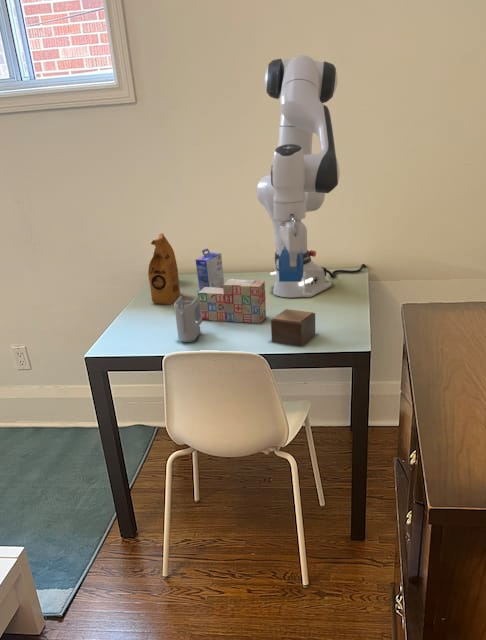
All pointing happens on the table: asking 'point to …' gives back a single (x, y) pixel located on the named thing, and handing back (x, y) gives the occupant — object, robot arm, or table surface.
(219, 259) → the ink cartridge box
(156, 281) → the coffee package
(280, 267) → the perfume bottle
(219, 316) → the stack of blocks
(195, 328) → the cable organizer
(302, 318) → the walnut block
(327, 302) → the table surface
